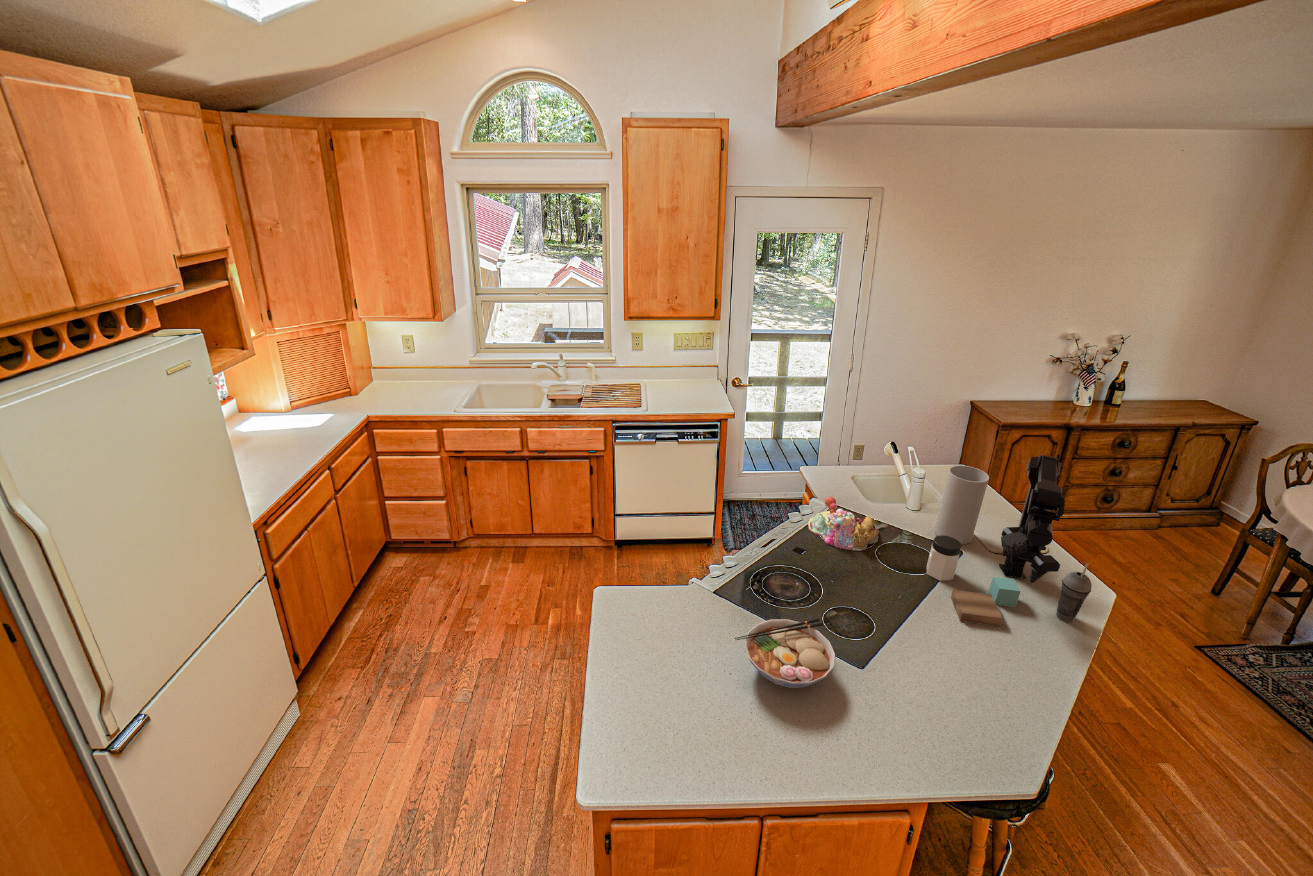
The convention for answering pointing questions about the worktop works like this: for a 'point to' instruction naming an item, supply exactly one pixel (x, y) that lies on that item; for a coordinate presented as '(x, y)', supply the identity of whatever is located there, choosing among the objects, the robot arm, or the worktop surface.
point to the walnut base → (976, 608)
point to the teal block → (1004, 591)
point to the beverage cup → (1073, 595)
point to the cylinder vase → (961, 503)
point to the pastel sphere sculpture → (843, 528)
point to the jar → (943, 558)
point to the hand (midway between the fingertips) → (1021, 572)
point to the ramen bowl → (789, 652)
